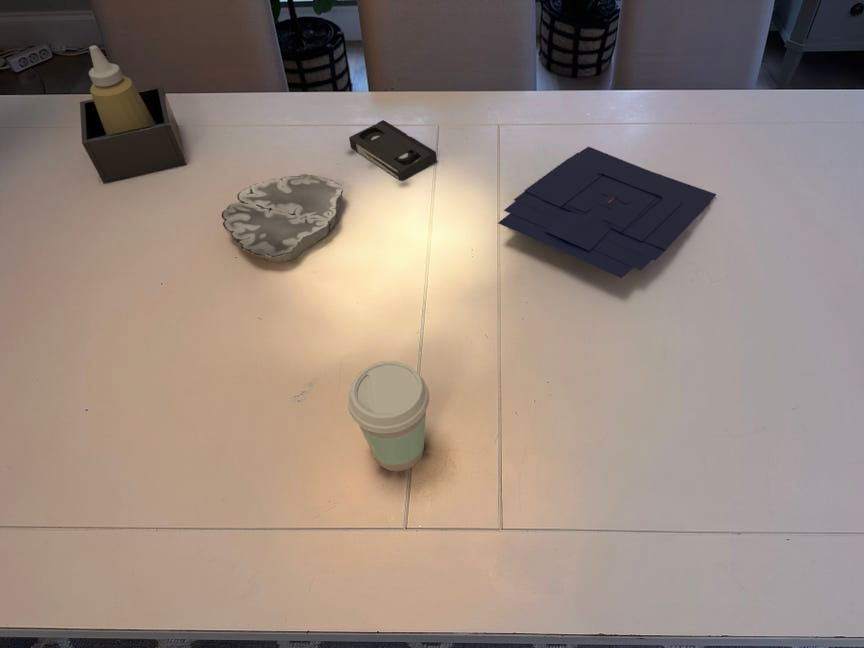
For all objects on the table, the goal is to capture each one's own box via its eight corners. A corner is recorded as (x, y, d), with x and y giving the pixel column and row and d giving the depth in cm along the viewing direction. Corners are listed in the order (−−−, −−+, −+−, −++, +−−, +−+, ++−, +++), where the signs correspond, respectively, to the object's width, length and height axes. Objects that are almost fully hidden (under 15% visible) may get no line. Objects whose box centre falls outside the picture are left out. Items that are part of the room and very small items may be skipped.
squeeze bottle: (174, 145, 119) (131, 43, 105) (136, 168, 114) (86, 64, 100) (144, 131, 122) (99, 30, 108) (106, 153, 117) (54, 51, 103)
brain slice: (269, 180, 113) (264, 165, 111) (360, 200, 109) (358, 184, 107) (201, 254, 101) (195, 239, 99) (301, 279, 97) (296, 264, 95)
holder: (103, 183, 113) (81, 142, 107) (100, 142, 121) (79, 101, 115) (186, 165, 116) (169, 124, 110) (177, 125, 124) (161, 85, 118)
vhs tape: (349, 147, 119) (347, 137, 117) (384, 129, 122) (383, 119, 121) (401, 181, 112) (400, 171, 111) (436, 162, 116) (435, 151, 114)
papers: (485, 233, 101) (487, 213, 99) (584, 160, 119) (587, 141, 117) (630, 300, 92) (635, 279, 89) (713, 209, 110) (720, 189, 107)
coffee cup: (382, 411, 82) (368, 347, 73) (446, 432, 80) (440, 369, 71) (349, 468, 77) (329, 407, 68) (416, 492, 75) (406, 433, 66)
